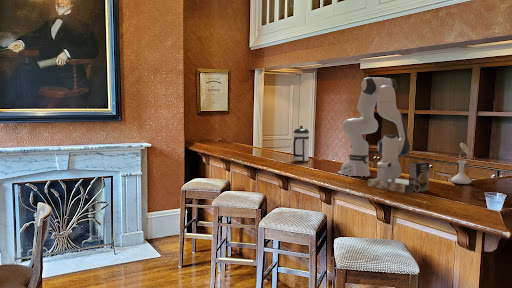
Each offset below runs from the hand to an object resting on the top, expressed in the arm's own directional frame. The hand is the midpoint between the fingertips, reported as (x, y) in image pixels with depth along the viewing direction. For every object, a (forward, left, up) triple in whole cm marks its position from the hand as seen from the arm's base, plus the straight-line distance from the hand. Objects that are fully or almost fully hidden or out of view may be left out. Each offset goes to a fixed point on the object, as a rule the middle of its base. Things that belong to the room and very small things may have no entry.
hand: (389, 186), depth 237 cm
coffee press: (-105, +39, -2) cm, 112 cm away
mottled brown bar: (0, 0, -2) cm, 2 cm away
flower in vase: (+21, +46, -2) cm, 51 cm away
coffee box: (+13, +9, -2) cm, 16 cm away
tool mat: (-5, +21, -2) cm, 22 cm away
